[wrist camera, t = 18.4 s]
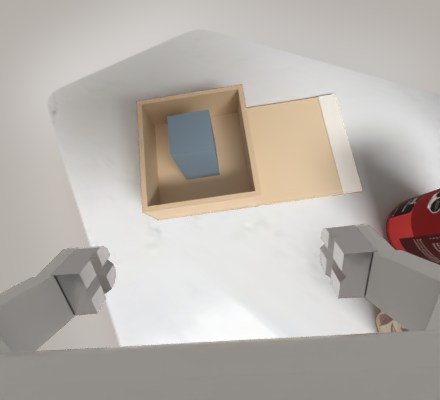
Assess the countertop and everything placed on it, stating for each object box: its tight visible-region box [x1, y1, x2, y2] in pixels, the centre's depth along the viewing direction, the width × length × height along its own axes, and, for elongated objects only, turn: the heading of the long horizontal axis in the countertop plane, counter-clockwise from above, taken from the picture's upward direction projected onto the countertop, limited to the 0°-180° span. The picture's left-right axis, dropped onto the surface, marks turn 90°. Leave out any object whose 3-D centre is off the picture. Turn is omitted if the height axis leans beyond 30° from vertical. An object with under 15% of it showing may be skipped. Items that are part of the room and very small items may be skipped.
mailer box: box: [137, 84, 363, 220], centre depth 31 cm, size 26×14×6 cm, turn 97°
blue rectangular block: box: [167, 110, 220, 180], centre depth 29 cm, size 4×4×8 cm
